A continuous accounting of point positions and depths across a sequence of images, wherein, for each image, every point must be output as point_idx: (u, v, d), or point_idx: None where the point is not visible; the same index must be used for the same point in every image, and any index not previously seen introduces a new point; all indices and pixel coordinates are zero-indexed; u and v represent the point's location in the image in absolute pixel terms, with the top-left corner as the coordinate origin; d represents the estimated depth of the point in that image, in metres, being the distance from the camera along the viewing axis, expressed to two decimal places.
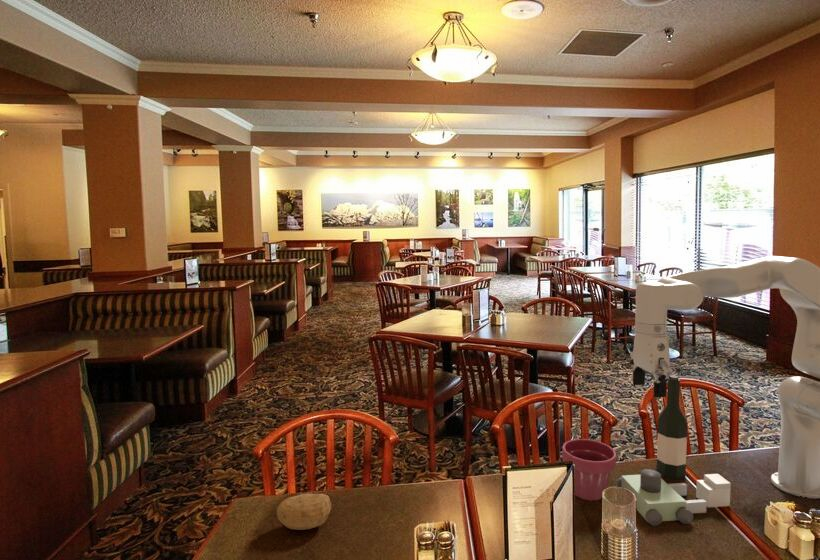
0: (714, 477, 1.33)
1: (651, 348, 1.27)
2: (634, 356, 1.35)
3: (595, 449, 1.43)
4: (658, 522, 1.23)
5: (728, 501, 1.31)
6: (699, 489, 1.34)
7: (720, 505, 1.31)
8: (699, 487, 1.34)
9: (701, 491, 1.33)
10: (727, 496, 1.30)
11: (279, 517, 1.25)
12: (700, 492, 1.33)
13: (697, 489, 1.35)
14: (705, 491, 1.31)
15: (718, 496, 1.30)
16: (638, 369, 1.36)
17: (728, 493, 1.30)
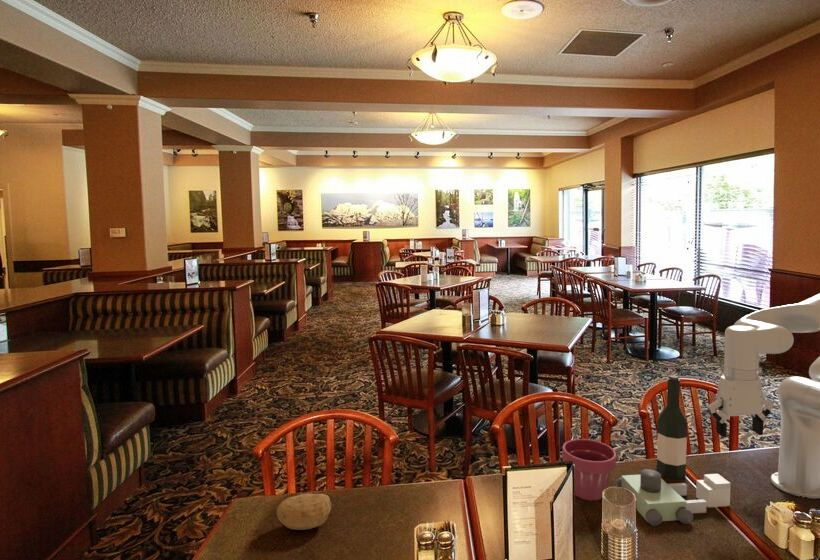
0: (714, 477, 1.33)
1: (761, 390, 1.28)
2: (731, 407, 1.28)
3: (595, 449, 1.43)
4: (658, 522, 1.23)
5: (728, 501, 1.31)
6: (699, 489, 1.34)
7: (720, 505, 1.31)
8: (699, 487, 1.34)
9: (701, 491, 1.33)
10: (727, 496, 1.30)
11: (279, 517, 1.25)
12: (700, 492, 1.33)
13: (697, 489, 1.35)
14: (705, 492, 1.31)
15: (718, 496, 1.30)
16: None
17: (728, 493, 1.30)
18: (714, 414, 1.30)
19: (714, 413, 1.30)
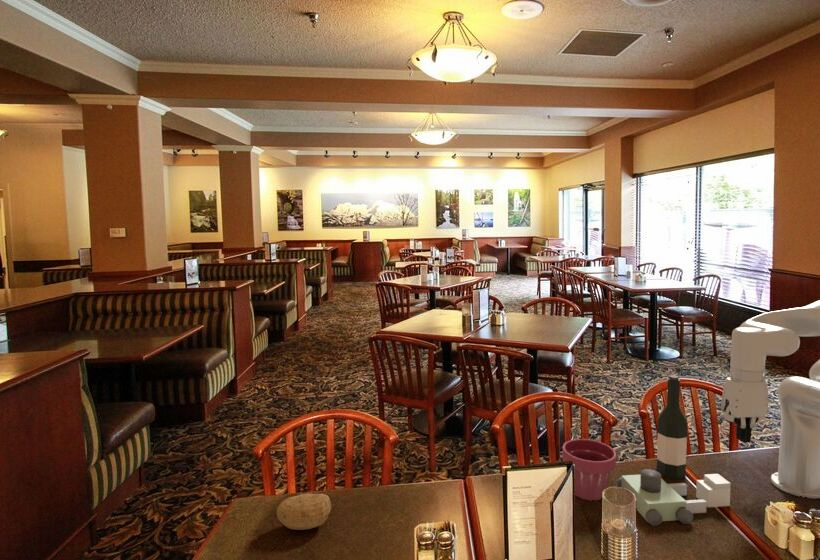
0: (714, 477, 1.33)
1: (766, 392, 1.28)
2: (737, 409, 1.28)
3: (595, 449, 1.43)
4: (658, 522, 1.23)
5: (728, 501, 1.31)
6: (699, 489, 1.34)
7: (720, 505, 1.31)
8: (699, 487, 1.34)
9: (701, 491, 1.33)
10: (727, 496, 1.30)
11: (279, 517, 1.25)
12: (700, 492, 1.33)
13: (697, 489, 1.35)
14: (705, 492, 1.31)
15: (718, 496, 1.30)
16: None
17: (728, 493, 1.30)
18: (735, 420, 1.30)
19: (734, 420, 1.30)
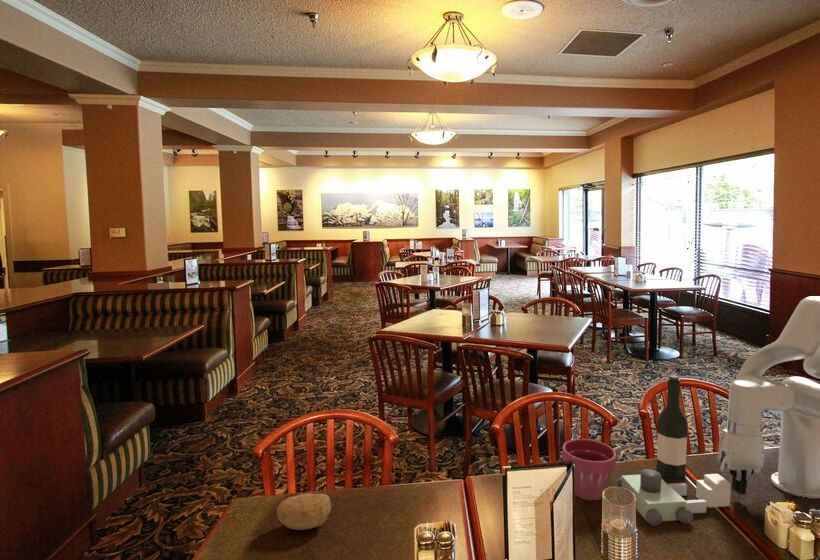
0: (714, 477, 1.33)
1: (762, 445, 1.30)
2: (733, 461, 1.30)
3: (595, 449, 1.43)
4: (658, 522, 1.23)
5: (728, 501, 1.31)
6: (699, 489, 1.34)
7: (720, 505, 1.31)
8: (699, 487, 1.34)
9: (701, 491, 1.33)
10: (727, 496, 1.30)
11: (279, 517, 1.25)
12: (700, 492, 1.33)
13: (697, 489, 1.35)
14: (705, 491, 1.31)
15: (718, 496, 1.30)
16: None
17: (728, 493, 1.30)
18: (731, 472, 1.31)
19: (730, 471, 1.31)
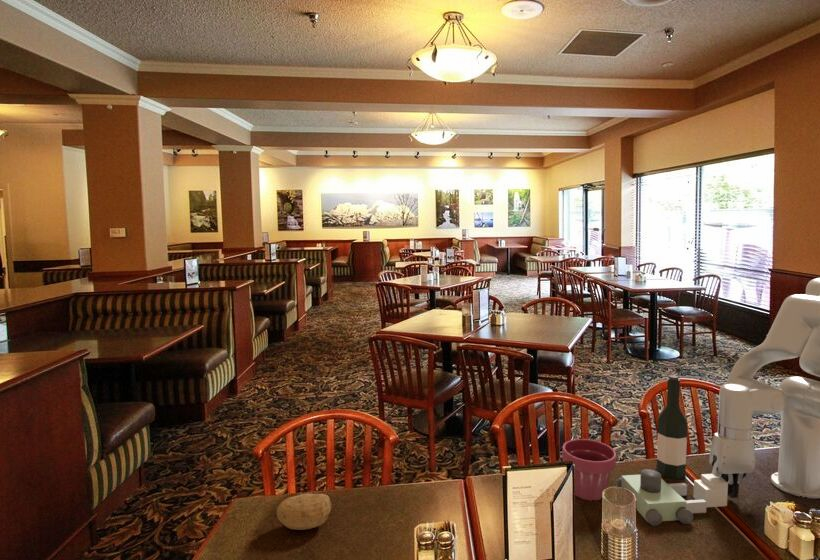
0: (712, 477, 1.33)
1: (753, 449, 1.30)
2: (725, 465, 1.30)
3: (595, 449, 1.43)
4: (658, 522, 1.23)
5: (725, 501, 1.31)
6: (697, 489, 1.34)
7: (717, 505, 1.31)
8: (697, 487, 1.33)
9: (699, 490, 1.33)
10: (724, 496, 1.30)
11: (279, 517, 1.25)
12: (697, 492, 1.33)
13: (694, 489, 1.35)
14: (702, 491, 1.31)
15: (715, 496, 1.30)
16: None
17: (725, 493, 1.30)
18: (723, 476, 1.31)
19: (722, 475, 1.32)
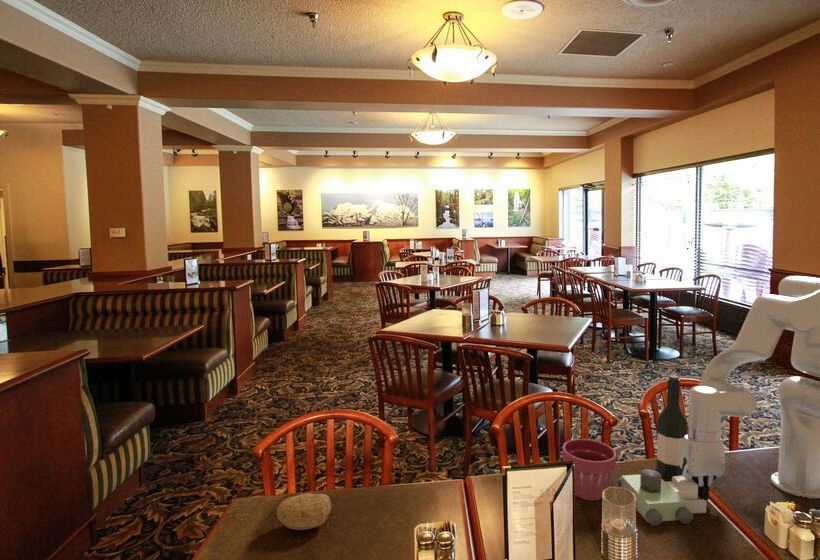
0: (682, 479, 1.33)
1: (723, 451, 1.29)
2: (694, 468, 1.29)
3: (595, 449, 1.43)
4: (658, 522, 1.23)
5: None
6: None
7: None
8: None
9: None
10: (694, 498, 1.30)
11: (279, 517, 1.25)
12: None
13: None
14: None
15: (685, 498, 1.30)
16: None
17: (695, 495, 1.30)
18: (693, 478, 1.31)
19: (692, 478, 1.31)
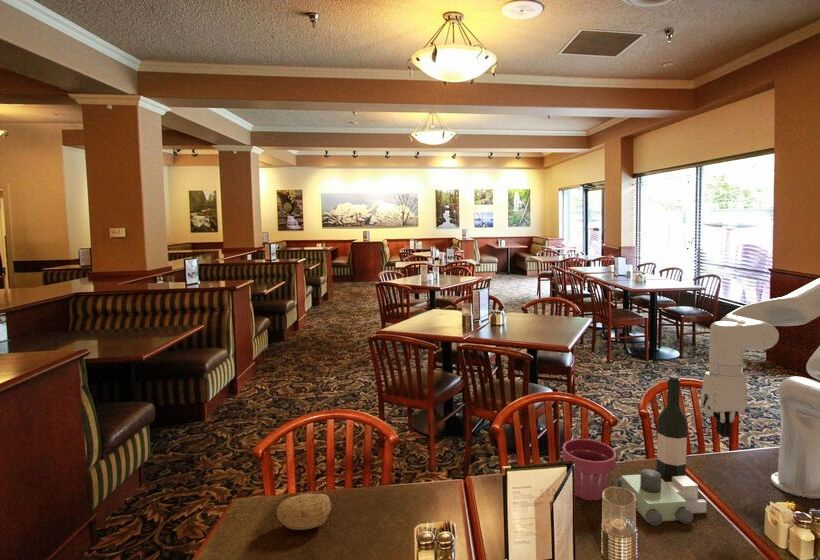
0: (683, 479, 1.33)
1: (745, 386, 1.27)
2: (716, 403, 1.27)
3: (595, 449, 1.43)
4: (658, 522, 1.23)
5: None
6: None
7: None
8: None
9: None
10: (694, 498, 1.30)
11: (279, 517, 1.25)
12: None
13: None
14: None
15: (685, 499, 1.30)
16: None
17: (695, 495, 1.30)
18: (714, 415, 1.29)
19: (714, 414, 1.29)
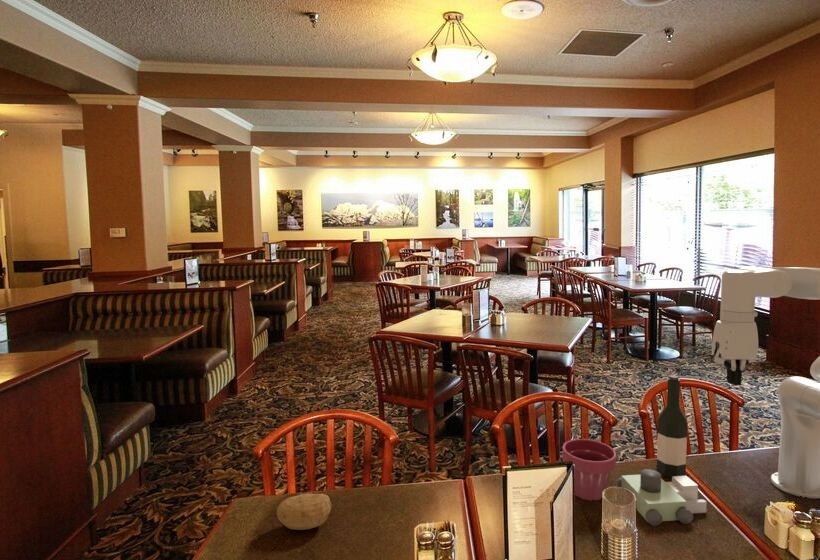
0: (682, 479, 1.33)
1: (756, 333, 1.28)
2: (727, 351, 1.28)
3: (595, 449, 1.43)
4: (658, 522, 1.23)
5: None
6: None
7: None
8: None
9: None
10: (694, 498, 1.30)
11: (279, 517, 1.25)
12: None
13: None
14: None
15: (685, 499, 1.30)
16: None
17: (695, 495, 1.30)
18: (725, 363, 1.30)
19: (725, 362, 1.30)
